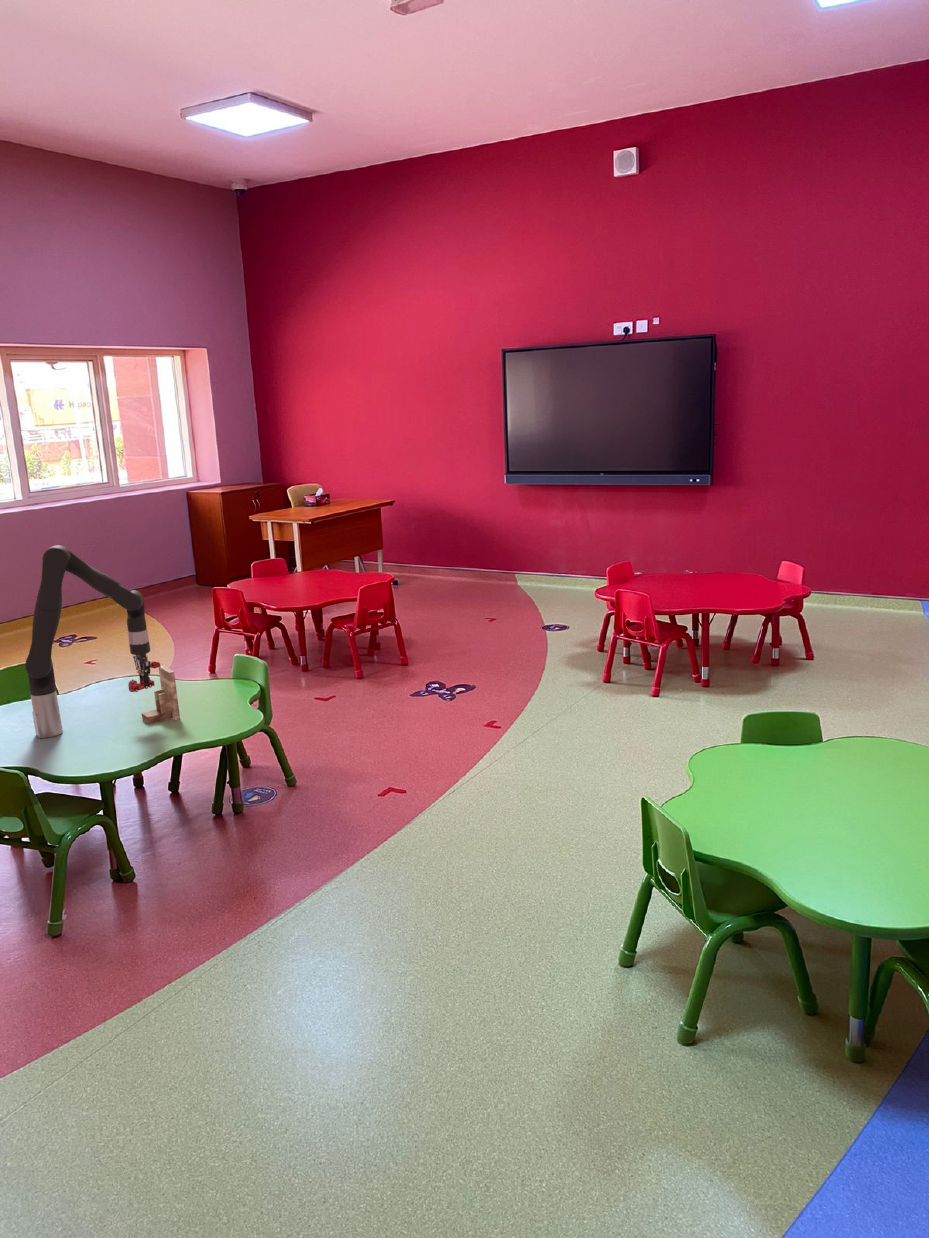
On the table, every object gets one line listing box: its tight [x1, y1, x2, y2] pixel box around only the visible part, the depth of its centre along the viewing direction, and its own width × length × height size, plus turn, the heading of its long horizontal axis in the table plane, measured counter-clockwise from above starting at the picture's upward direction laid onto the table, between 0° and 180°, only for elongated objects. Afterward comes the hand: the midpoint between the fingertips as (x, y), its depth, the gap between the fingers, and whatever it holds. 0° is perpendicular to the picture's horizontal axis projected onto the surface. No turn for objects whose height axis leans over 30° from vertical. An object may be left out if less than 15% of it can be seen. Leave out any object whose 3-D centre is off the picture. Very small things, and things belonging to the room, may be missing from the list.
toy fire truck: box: [127, 661, 162, 693], centre depth 365 cm, size 3×14×10 cm, turn 139°
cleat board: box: [141, 664, 181, 725], centre depth 370 cm, size 12×13×20 cm
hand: (144, 682), depth 366 cm, fingers closed on toy fire truck, 3 cm apart
